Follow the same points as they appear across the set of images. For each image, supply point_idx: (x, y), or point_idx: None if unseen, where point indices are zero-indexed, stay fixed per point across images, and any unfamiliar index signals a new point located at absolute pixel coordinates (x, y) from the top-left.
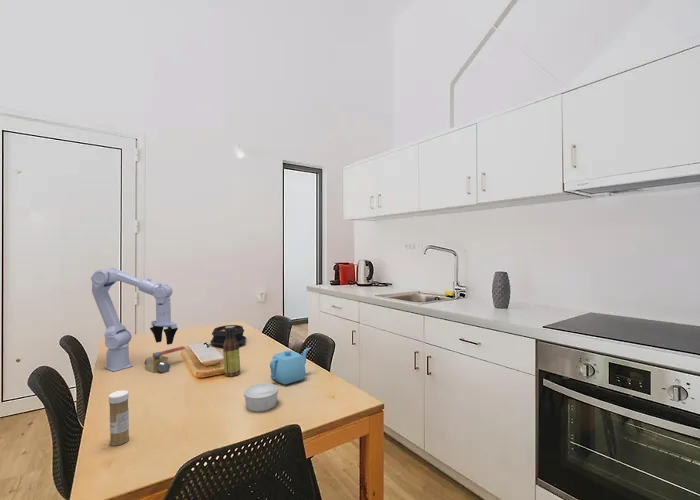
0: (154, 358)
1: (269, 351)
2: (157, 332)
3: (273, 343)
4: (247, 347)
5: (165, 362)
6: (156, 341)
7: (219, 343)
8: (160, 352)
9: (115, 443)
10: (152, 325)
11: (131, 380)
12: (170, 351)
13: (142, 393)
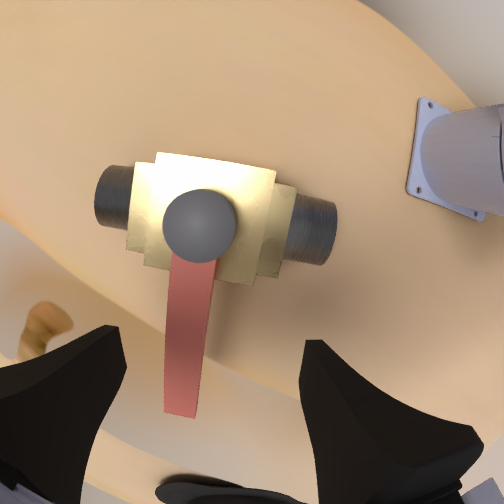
0: None
1: None
2: (338, 445)
3: (115, 495)
4: (138, 482)
5: (111, 213)
6: (314, 344)
7: (223, 492)
8: (191, 261)
9: None
10: (475, 493)
11: (196, 40)
12: (168, 326)
13: (42, 28)
